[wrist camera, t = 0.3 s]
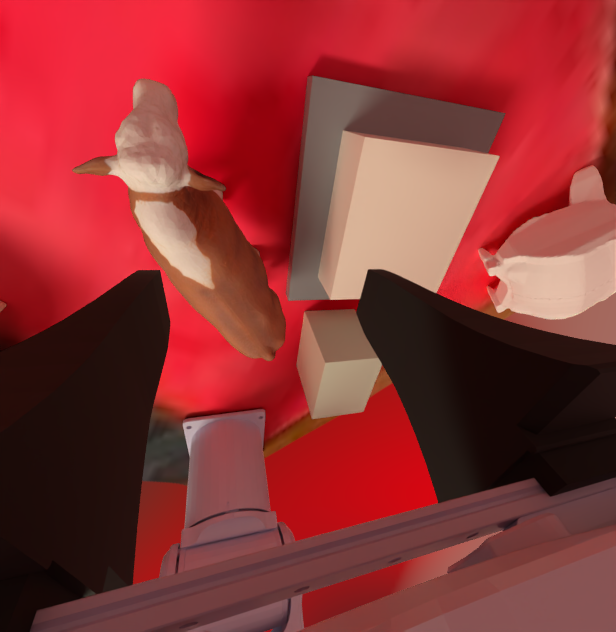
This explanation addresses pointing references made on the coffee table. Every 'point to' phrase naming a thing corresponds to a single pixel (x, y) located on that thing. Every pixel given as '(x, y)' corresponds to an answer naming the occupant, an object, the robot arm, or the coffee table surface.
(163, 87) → the bull figurine
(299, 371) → the sage brick
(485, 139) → the tower base
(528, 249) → the white lumpy shape
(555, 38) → the coffee table surface
